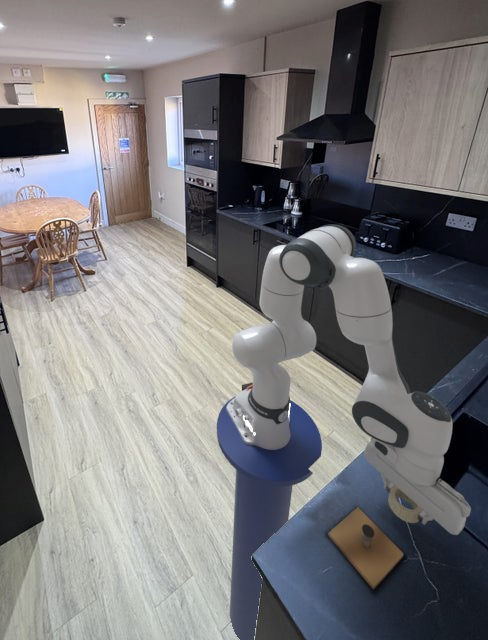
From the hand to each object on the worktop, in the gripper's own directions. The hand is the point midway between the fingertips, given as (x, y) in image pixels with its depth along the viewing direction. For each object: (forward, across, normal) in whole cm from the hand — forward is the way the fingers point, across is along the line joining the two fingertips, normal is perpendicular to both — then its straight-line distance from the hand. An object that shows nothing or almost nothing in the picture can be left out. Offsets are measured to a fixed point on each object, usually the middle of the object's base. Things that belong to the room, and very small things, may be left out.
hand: (404, 504), depth 76 cm
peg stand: (+6, +1, +12) cm, 13 cm away
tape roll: (+1, 0, 0) cm, 1 cm away
